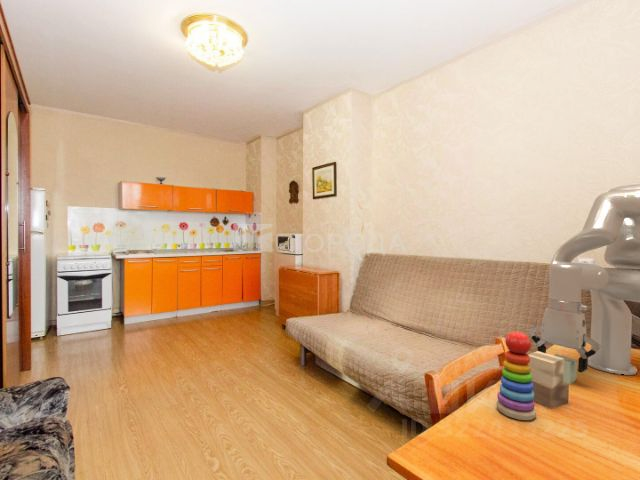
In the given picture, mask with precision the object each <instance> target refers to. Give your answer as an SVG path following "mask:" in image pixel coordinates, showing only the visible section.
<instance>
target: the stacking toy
mask: <svg viewBox="0 0 640 480" xmlns="http://www.w3.org/2000/svg"><path fill="white" fill-rule="evenodd" d="M505 345H506V347H507V349H508V350H507V351H506V352H505V355H504V357H505V359H504V361H502V365H503V368H502V370H501V371H502V375H501V379H500V383H501V384H500V385H499V391H498V392H497V397H496V398H497V401H496V408H497V409H498V411H500V412H501V414H503V415H505V416H507V417H509V418H512V419H515V420H519V421H531V420H533V419H535V418H536V416H537V410H536V409H535V407H536V402H534V400H533V399H534V392H533V387H534V386H533V383H532V382H531V380H532V374H531V373H530V370H531V367H530V365H529V364H528V363H529V362H530V357H529V355H528V354H527V353H528V352H529V351H530V349H531V347H532V342H531V339H530V338H529V337H528V335H526V334H525V333H523V332H520V331H512V332H510V333H508V335H507V336H506V338H505Z"/></svg>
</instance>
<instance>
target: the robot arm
mask: <svg viewBox="0 0 640 480" xmlns="http://www.w3.org/2000/svg"><path fill="white" fill-rule="evenodd" d="M603 247H605V252H604V262H606V263H607V264H608V265H609V266H613V267H602V266H601V265H598V264H592V263H591V264H590V263H581V262H573V260H575V259H576V258H577V257H578V256H580V255H581V254H584V253H587V252H589V251H593V250H596V249H599V248H603ZM616 267H617V268H616ZM547 273H548V279H549V283H548V284H549V285H548V300H547V303H548V304H547V307H545V310H544V313H543V317H542V320H541V321H542V322H541V326H536V327H533V328H529V329H528V332H529V335H530V336H531V340H533V342H534V343H535V345H536V346H537V351H539V352H543V353H546V354H547V346H546V344H547V343H548V344H550V345H551V344H552V345H555V346H560V347H563V348H568V349H572V350H575V351H576V352H577V354H578V355H579V357H578V361H577V371H578V372H579V373H581V374H582V373H583V372H585V371H588V366H589V367H591V368H593V369H596V370H598V371H602V372H604V373H605V372H606V373H610V374H614V373H615V374H614V375H621V374H624V375H623V376H634V375H637V374H636V373H638V369H637V367H636V366H635V365H632V364H631V355H632V353H631V352H632V330H633V329H632V326H633V324H632V323H633V315H632V314H633V313H632V312H631V310H630V308H629V306H628V305H627V304H626V302H628V301H629V302H634V303H635V302H636V303H640V183H636V184H628V185H627V184H626V185H621V186H616V187H614V188H611V189H609V190H608V191H606V192H603V193H601V194H599V195H597V197H596V198H595V199H594V201H593V204H592V207H591V209H590V211H589V212H588V216H587V217H586V221H585V222H584V225H583V228H582V230H581V231H580V232H578V233H577V234H575V235H574V236H573V237H570V238H569V239H568V240H567V241H565V242H564V243H563V244H562V245H560V246H559V248H557V250H556V251H555V252H554V254H553V257H552V260H551V262H550V264H549V268H548V272H547ZM583 290H588V291H589V292H590V297H591V318H590V319H591V325H590V336H588V335H587V321H586V317H585V313H583V311H585V312H586V311H587V310H588V305H584V304H583V302H582V292H583ZM625 301H626V302H625ZM537 332H540V337H539V336H538V335H537ZM587 344H588V345H590V350H587V349H586V346H587Z"/></svg>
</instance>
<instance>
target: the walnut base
mask: <svg viewBox="0 0 640 480" xmlns="http://www.w3.org/2000/svg"><path fill="white" fill-rule="evenodd" d="M531 382H532V383H533V386H534V387H533V392H534V399H533V400H534V403H537V404H539V405H541V406H543V407H545V408H548V409H549V410H552V409H555V408H558V407H561V406H565V405H568V404H569V396H570V394H569V393H570V391H569V389H570V384H567V383H565V382H563V383H561V384H559V385H557V386H556V387H554V388H551V387H548V386H545V385H542V384H540V383H537V382H534V381H531Z"/></svg>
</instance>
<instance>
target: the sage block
mask: <svg viewBox="0 0 640 480" xmlns="http://www.w3.org/2000/svg"><path fill="white" fill-rule="evenodd" d="M553 356H557V357H560V358H564V374H563V382H565V383H567V384H569V385H571V384H572V383H574V382H575V381H577V373H578V372H577V371H578V359H576V358H571V357H569V356H565V355H560V354H558V353H556V354H553Z"/></svg>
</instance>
